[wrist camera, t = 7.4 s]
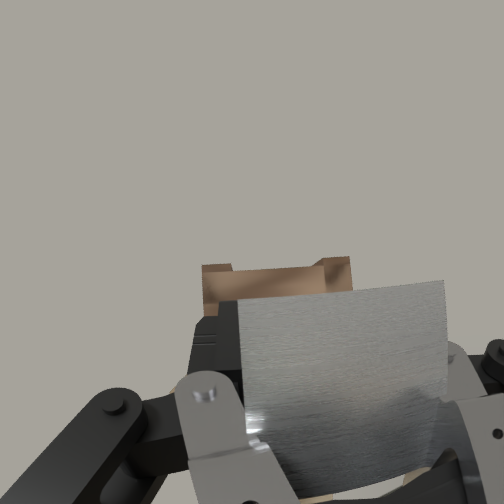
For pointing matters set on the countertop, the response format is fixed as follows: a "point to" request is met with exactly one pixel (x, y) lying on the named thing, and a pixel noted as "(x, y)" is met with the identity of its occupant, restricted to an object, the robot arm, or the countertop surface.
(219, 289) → the shelf stand
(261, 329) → the bar
